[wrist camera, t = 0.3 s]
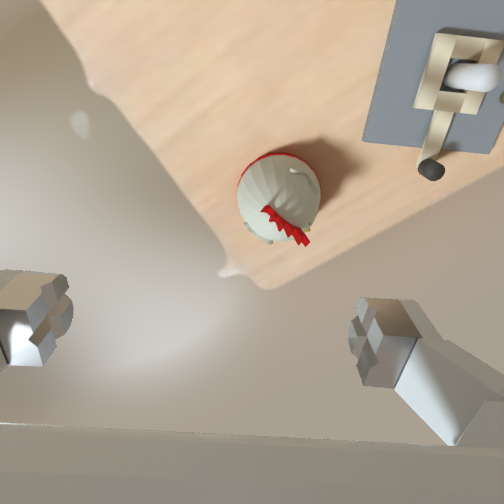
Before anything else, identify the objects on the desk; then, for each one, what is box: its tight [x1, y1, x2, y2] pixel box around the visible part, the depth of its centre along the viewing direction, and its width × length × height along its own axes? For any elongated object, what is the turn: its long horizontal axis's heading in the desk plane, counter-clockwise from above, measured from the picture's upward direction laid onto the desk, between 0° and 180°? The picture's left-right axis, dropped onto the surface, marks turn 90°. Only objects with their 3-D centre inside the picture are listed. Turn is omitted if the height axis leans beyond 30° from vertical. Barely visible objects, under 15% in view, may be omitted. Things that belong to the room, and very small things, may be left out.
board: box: [362, 0, 504, 154], centre depth 44 cm, size 20×20×10 cm
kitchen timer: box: [237, 152, 321, 247], centre depth 50 cm, size 14×14×15 cm
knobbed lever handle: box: [413, 33, 504, 181], centre depth 47 cm, size 18×9×4 cm, turn 175°
